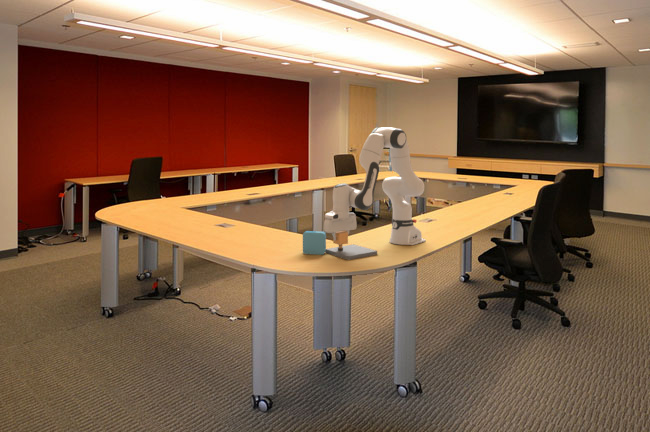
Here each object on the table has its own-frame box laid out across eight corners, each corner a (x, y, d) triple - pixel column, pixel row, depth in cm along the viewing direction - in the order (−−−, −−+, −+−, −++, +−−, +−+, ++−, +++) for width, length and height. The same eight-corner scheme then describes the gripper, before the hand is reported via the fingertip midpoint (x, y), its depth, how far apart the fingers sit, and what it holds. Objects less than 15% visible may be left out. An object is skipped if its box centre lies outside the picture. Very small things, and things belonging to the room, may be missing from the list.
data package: (325, 253, 281) (325, 231, 278) (324, 255, 276) (324, 233, 274) (304, 252, 283) (304, 230, 281) (302, 254, 278) (302, 232, 276)
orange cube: (341, 241, 281) (341, 230, 280) (347, 243, 277) (347, 232, 276) (333, 243, 278) (333, 232, 277) (339, 244, 273) (339, 233, 273)
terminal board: (353, 247, 293) (353, 236, 292) (377, 254, 277) (377, 242, 276) (325, 252, 281) (325, 241, 280) (348, 260, 265) (348, 247, 264)
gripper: (352, 211, 283) (351, 236, 286) (322, 215, 271) (322, 240, 274) (359, 213, 278) (359, 238, 281) (329, 216, 266) (329, 242, 269)
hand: (340, 239), depth 277 cm, fingers closed on orange cube, 6 cm apart
